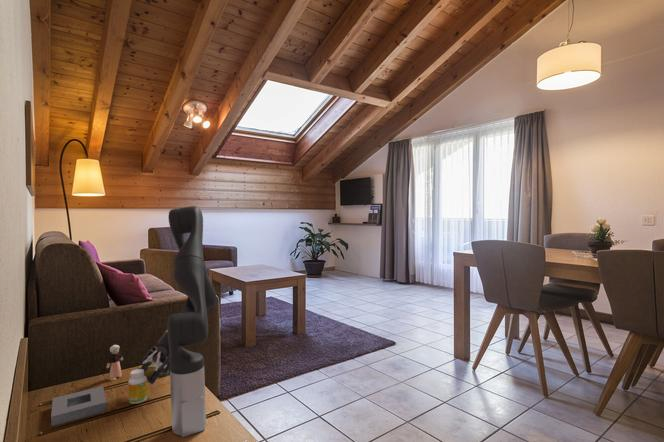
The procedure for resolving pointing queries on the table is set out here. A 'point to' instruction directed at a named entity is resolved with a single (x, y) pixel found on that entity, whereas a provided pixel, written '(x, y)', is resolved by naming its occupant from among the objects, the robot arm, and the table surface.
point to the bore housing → (78, 406)
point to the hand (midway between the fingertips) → (143, 379)
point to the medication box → (152, 369)
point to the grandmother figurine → (114, 363)
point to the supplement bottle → (137, 387)
